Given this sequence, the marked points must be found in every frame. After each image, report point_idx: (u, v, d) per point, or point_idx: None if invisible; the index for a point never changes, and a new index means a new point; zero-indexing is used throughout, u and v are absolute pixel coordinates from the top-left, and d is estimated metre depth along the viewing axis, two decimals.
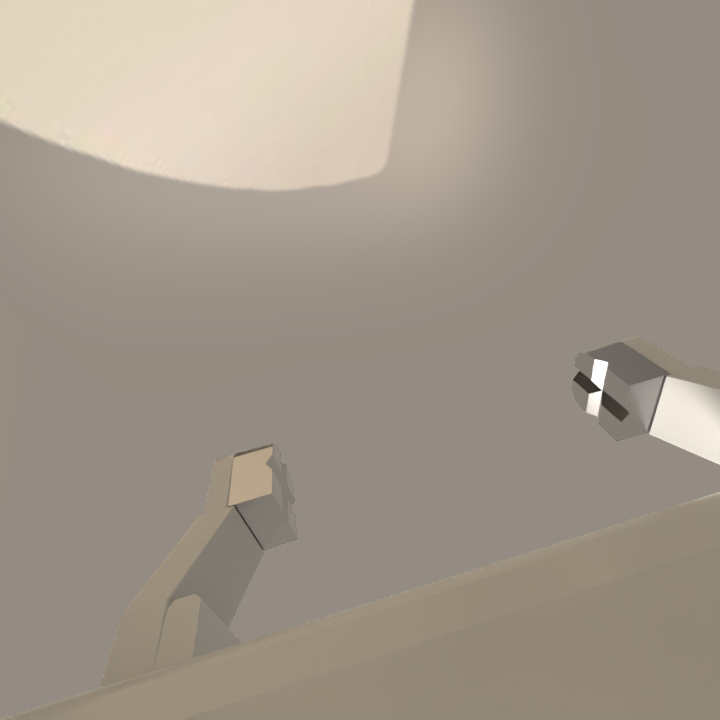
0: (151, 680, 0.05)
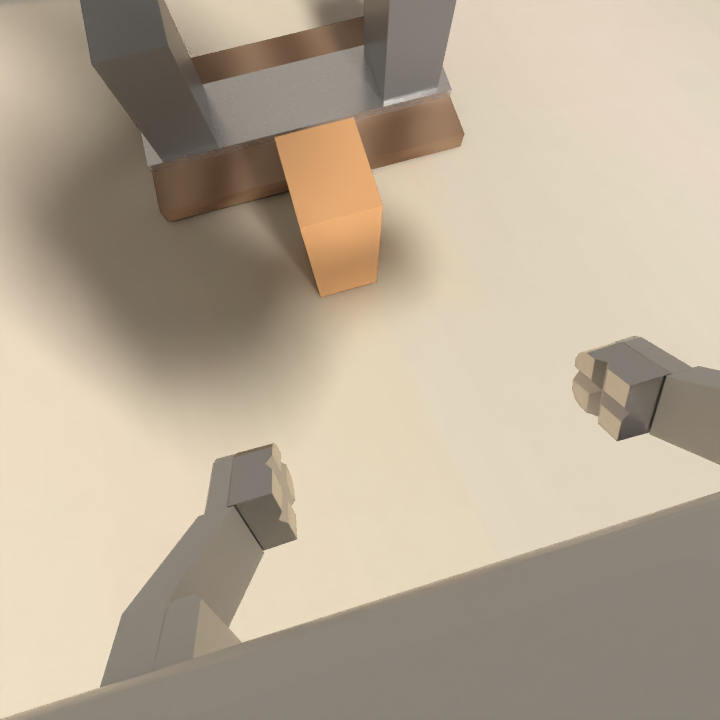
0: (151, 680, 0.05)
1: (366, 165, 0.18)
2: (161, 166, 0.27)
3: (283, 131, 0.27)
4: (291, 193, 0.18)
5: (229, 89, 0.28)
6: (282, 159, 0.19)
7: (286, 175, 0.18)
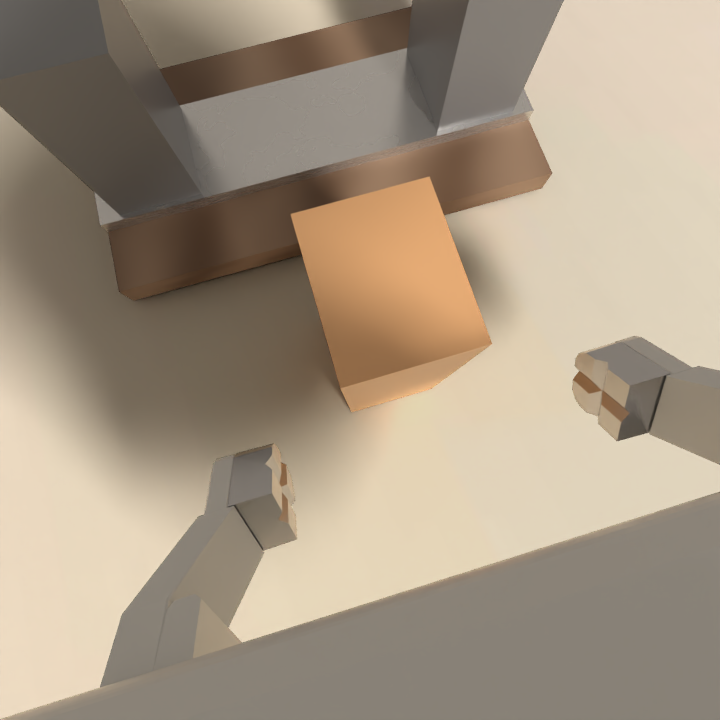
0: (151, 680, 0.05)
1: (457, 266, 0.10)
2: (120, 224, 0.19)
3: (295, 172, 0.19)
4: (323, 320, 0.10)
5: (218, 112, 0.20)
6: (305, 255, 0.10)
7: (313, 286, 0.10)
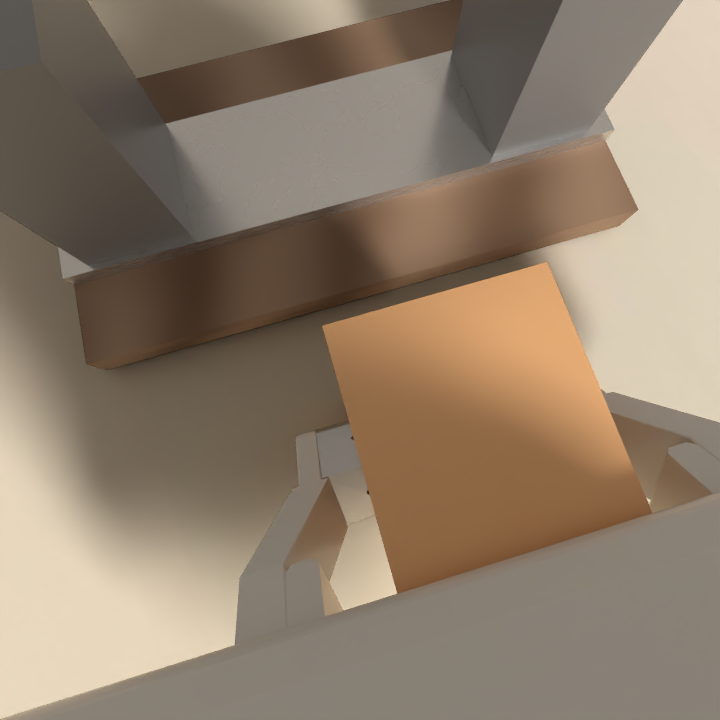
0: (151, 680, 0.05)
1: (603, 420, 0.06)
2: (89, 276, 0.15)
3: (312, 209, 0.15)
4: (381, 520, 0.06)
5: (214, 132, 0.16)
6: (348, 399, 0.06)
7: (362, 456, 0.06)
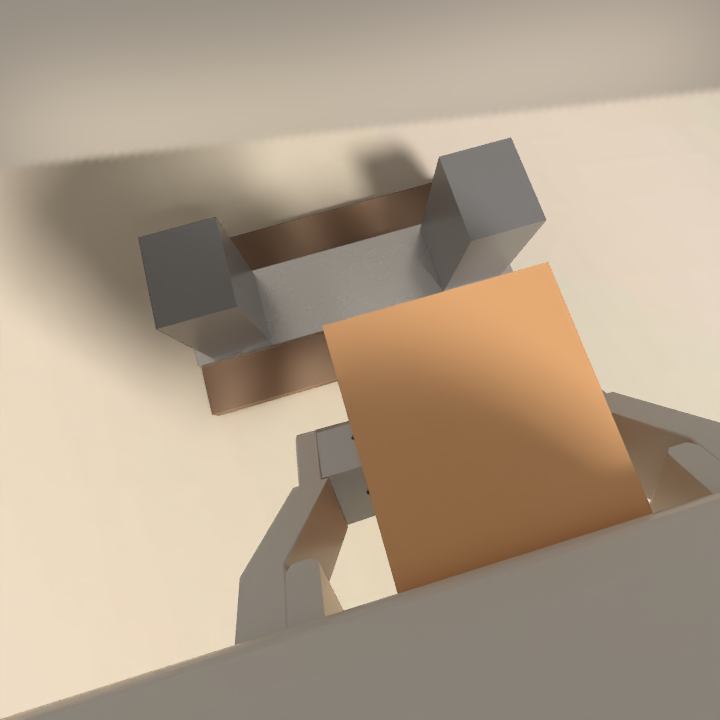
0: (151, 680, 0.05)
1: (604, 420, 0.06)
2: (212, 363, 0.26)
3: None
4: (381, 521, 0.06)
5: (281, 276, 0.27)
6: (348, 399, 0.06)
7: (363, 456, 0.06)
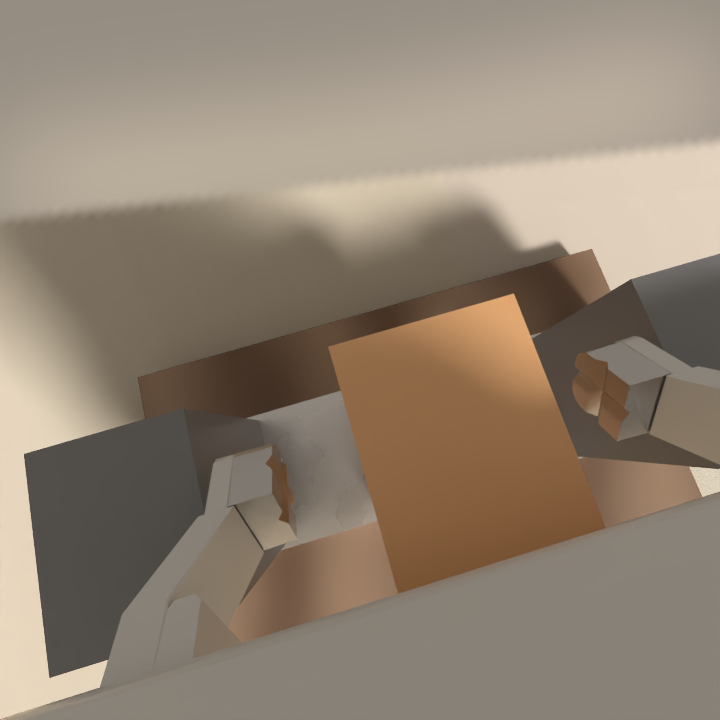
0: (151, 680, 0.05)
1: (557, 424, 0.08)
2: None
3: None
4: (376, 505, 0.07)
5: (303, 425, 0.17)
6: (349, 407, 0.08)
7: (361, 453, 0.07)
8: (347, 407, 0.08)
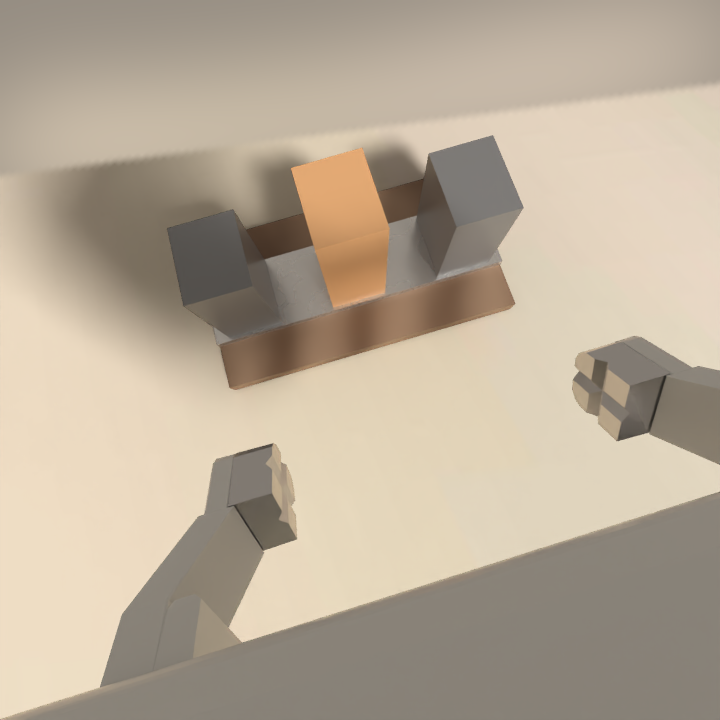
0: (151, 680, 0.05)
1: (374, 191, 0.20)
2: (229, 342, 0.29)
3: (342, 306, 0.29)
4: (307, 219, 0.20)
5: (290, 264, 0.30)
6: (298, 188, 0.21)
7: (302, 202, 0.20)
8: (297, 188, 0.21)
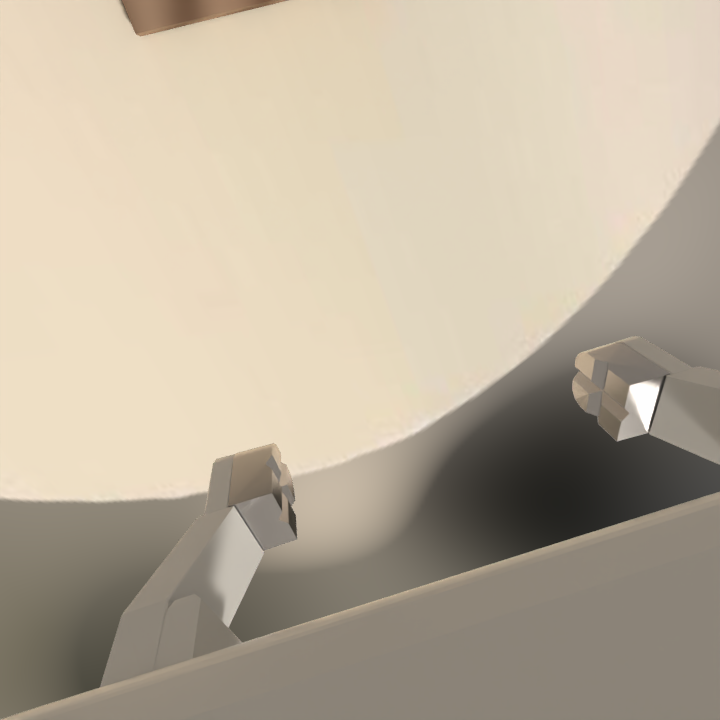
0: (151, 680, 0.05)
1: None
2: None
3: None
4: None
5: None
6: None
7: None
8: None
